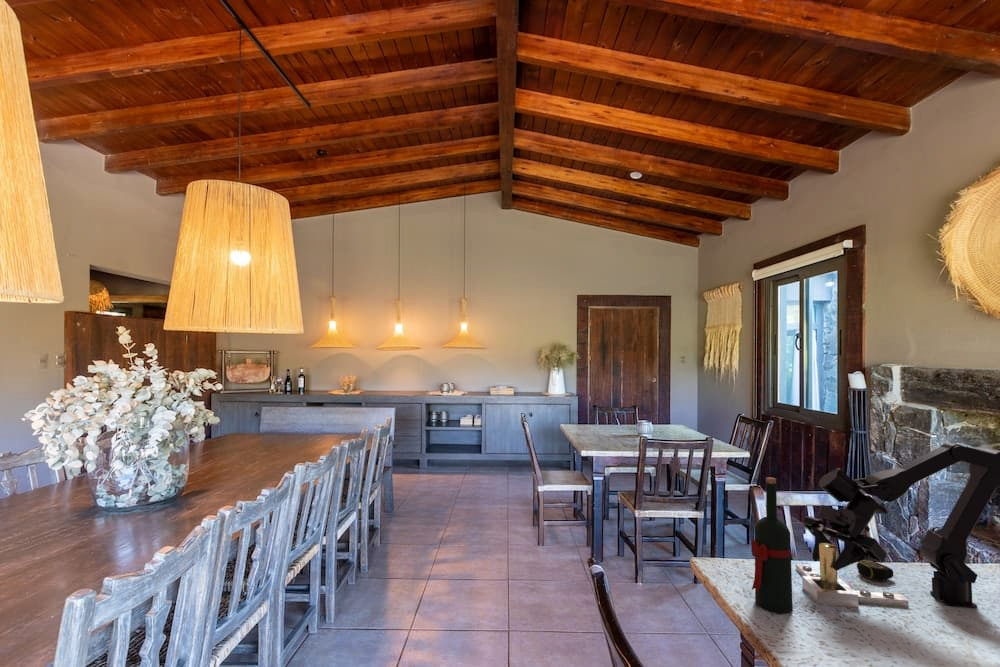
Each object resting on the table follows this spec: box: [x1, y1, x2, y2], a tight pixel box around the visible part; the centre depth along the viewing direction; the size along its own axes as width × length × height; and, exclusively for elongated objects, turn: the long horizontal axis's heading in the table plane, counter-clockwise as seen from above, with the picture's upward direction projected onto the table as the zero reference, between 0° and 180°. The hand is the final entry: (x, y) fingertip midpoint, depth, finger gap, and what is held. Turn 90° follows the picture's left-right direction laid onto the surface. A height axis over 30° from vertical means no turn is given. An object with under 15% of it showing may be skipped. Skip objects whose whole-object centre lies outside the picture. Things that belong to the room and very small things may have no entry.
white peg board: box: [795, 563, 910, 609], centre depth 128 cm, size 21×21×3 cm
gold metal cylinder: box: [819, 543, 839, 590], centre depth 123 cm, size 4×4×12 cm
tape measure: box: [856, 559, 894, 582], centre depth 135 cm, size 7×7×4 cm
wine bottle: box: [750, 476, 794, 615], centre depth 119 cm, size 8×10×30 cm
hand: (824, 564), depth 123 cm, fingers open, 5 cm apart
